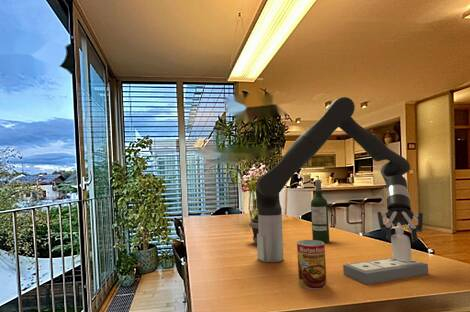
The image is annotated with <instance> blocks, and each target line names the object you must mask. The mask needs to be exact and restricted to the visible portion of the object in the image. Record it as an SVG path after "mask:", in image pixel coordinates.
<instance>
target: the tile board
mask: <svg viewBox="0 0 470 312" xmlns="http://www.w3.org/2000/svg"><path fill="white" fill-rule="evenodd" d="M342 269H343V275H344V276H347V277H348V278H351V279H354V280H356V281H357V282H360V283H362V284H365V285H370V284H376V283H377V284H378V283H383V282H389V281H393V280H401V279H406V278H411V277H417V276H423V275H425V276H426V275H429V264H428V263H425V262H422V261H419V260H415V259H412V261H410V262H403V261H397V260H394V259H393V257H390V258H382V259H376V260H370V261H369V260H368V261H361V262H354V263H348V264H347V263H346V264H342Z"/></svg>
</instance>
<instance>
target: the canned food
mask: <svg viewBox="0 0 470 312" xmlns="http://www.w3.org/2000/svg"><path fill="white" fill-rule="evenodd" d="M325 244H326V243H324V242H322V241H317V240H313V239H303V240H298V241H297V242H296V246H297V247H296V248H297V269H298V270H297V271H298V285H299V286H300V287H301V288H304V289H307V290H321V289H322V290H323V289H324V288H326V287H327V284H328V283H327V267H326V264H327V263H326V247H325Z"/></svg>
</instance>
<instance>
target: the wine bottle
mask: <svg viewBox="0 0 470 312" xmlns="http://www.w3.org/2000/svg"><path fill="white" fill-rule="evenodd" d="M314 181H315V196H314V198H312V200H311V202H310V207H311V208H310V211H311V212H310V214H311V231H312V232H311V234H312V235H311V236H312V240H317V241H322V242H324V243H325V244H328V243H330V230H329V229H330V227H329V210H328V209H329V207H328V200H327V199H326V198H325V197H323V193H322V192H323V191H322V180H321V179H315V180H314Z"/></svg>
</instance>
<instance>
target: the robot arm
mask: <svg viewBox="0 0 470 312" xmlns="http://www.w3.org/2000/svg"><path fill="white" fill-rule="evenodd" d="M355 108H356V106H355V102H354V101H353V100H352V98H350V97H346V96H342V97H338V98H336V99H335V100H333V101H332V102H331V103H330V104H329V105H328V106H327V108H326V112H325V113H324V114H323V115H322V116H321V117H320V118H319V119H318V120H317V121H316V122H315V123H313V124H312V125H311V126H310V127H308V128H307V129H306V130H305V131H304V132H302V133H301V134H300V136H298V138H296V140H295V141H294V142H293V143H292V144H291V145H290V147H289V148H288V150H287V151H286V152H285V154H284V155H283V157H282V158H281V160H280V161H279V162H278V163H277V164H276V165H274V166H273V168H271V169H270V170H269V171H267V172H265V173H263V174H261V175H260V176H258V178H257V180H256V183H255V185H256V186H255V188H256V190H255V192H256V195H255V196H256V207H257V213H258V227H259V234H257V244H256V248H257V249H256V250H257V259H258V260H259V261H261V262H262V263H278V262H282V261H284V243H283V242H284V240H283V239H284V238H283V237H284V235H283V214H282V206H281V202H280V201H281V200H280V193H281V191H283V189H284V188H285V186H286V185H287V183H288V182H289V181H290V180H291V178H292V177H293V176H294V175H295V174H296V173H297V172H298V171H299V170H300V169H301V168H302V167H304V166H305V165H306V164H307V163H308V162H309V161H310V160H311V159H312V158H313V157H314V156H315V155H316V154H317V153H318V151H320V149H321V148H322V147H323V146H324V145H325V143H326V142H327V141H328V140H329V138H330V137H331V136H332V134H334V132H335V131H336V130H337V129H338V128H339V129H340V130H342V131H343V132H344V133H345V134H347V136H348V137H350V138H352V139H353V140H354V141H355V143H356V144H357V145H359V146H360V147H361V148H362V149H363V150H364V151H365V153H367V154H368V155H369V157H370V158H371V159H372V160H373V161H375V162H381V161H385V160H386V161H387V162H386V163H384V164H383V165H382V166H381V168H380V174H381V176H382V178H383V180H384V182H385V188H386V193H385V202H386V212H384V213H383V212H381V211H378V212H377V220H378V224H379V225H378V226H379V229H380V230H381V231H384V232H385V236H386V239H387V240H388V241H390V242H391V236H392V234H391V233H392V231H391V230H392V229H393V227H395V226H397V224H398V223H400V224H401V226H406V227H407V228H408V229H409V230H410V233H411V242H412V243H416V241H417V242H418V233H419V232H420V233H422V232H423V217H424V216H423V215H424V214H423V213H422V212H418V214H417V213H414V212H413V211H412V204H411V199H410V193H409V191H408V182H407V179H406V178H405V177H404V176H403V175H405V174H408V172H410V171H411V164H410V163H409V161H408V160H407V159H406V157H403V156H401V155H400V154H399V153H397V152H395V151H393V150H392V149H390V147H388V146H387V145H386V144H385V142H383V141H382V140H381V139H380V138H379V137H378V136H377V135H375V134H374V133H373V132H371V131H369V130H368V129H366V128H364V127H363V126H361V125H360V124H359V123H358V122H356V120H355V119H354V118H353V117H352V116H353V115H354V113H355ZM385 218H386V219H388V221H387V223H386V224H384V220H385ZM413 219H415V221H416V222H417V225H415V224H414V222H413V221H412V220H413Z"/></svg>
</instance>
